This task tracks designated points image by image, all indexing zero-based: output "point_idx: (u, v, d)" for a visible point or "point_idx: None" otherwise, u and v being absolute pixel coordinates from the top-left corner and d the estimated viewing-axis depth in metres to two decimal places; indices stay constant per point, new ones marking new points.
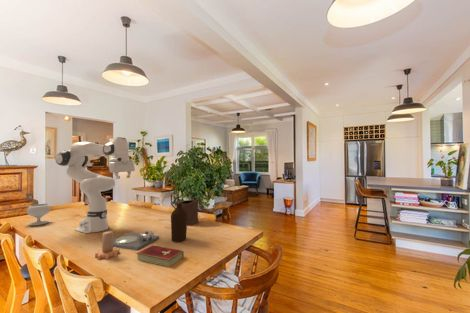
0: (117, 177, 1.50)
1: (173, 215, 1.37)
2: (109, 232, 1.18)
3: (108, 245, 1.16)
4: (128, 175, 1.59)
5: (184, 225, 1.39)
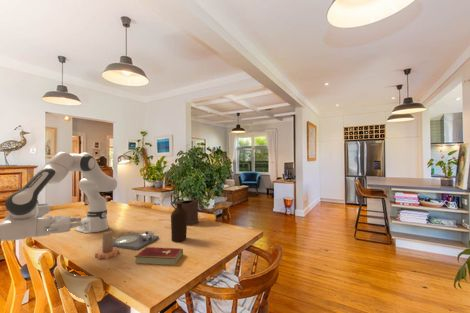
0: None
1: (173, 215, 1.37)
2: (109, 232, 1.18)
3: (108, 245, 1.16)
4: (77, 225, 1.07)
5: (184, 225, 1.39)
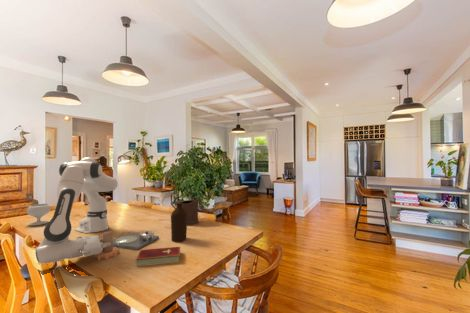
0: None
1: (173, 215, 1.37)
2: (109, 232, 1.18)
3: None
4: None
5: (184, 225, 1.39)
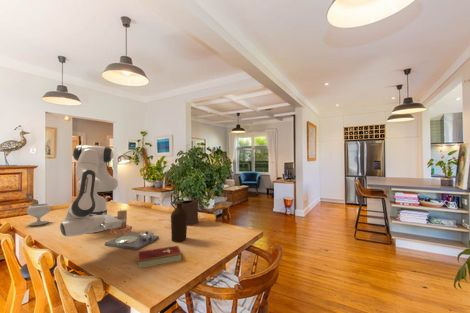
0: None
1: (173, 215, 1.37)
2: (123, 210, 1.31)
3: None
4: None
5: (184, 225, 1.39)
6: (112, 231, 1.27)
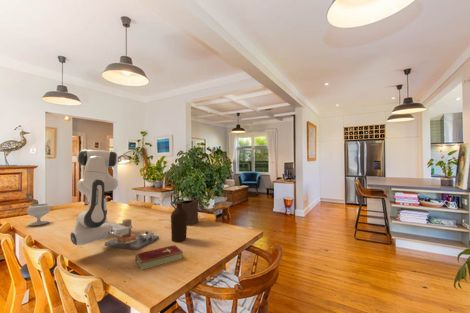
0: None
1: (173, 215, 1.37)
2: (128, 219, 1.37)
3: (129, 230, 1.35)
4: (128, 228, 1.34)
5: (184, 225, 1.39)
6: (118, 240, 1.32)
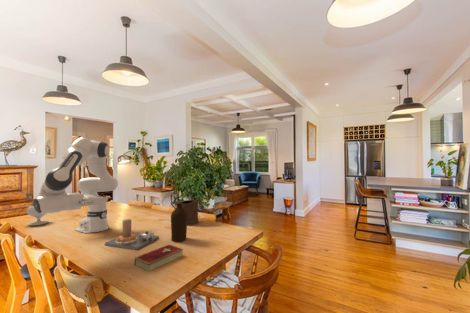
0: None
1: (173, 215, 1.37)
2: (128, 219, 1.37)
3: (129, 230, 1.35)
4: None
5: (184, 225, 1.39)
6: (118, 240, 1.32)
